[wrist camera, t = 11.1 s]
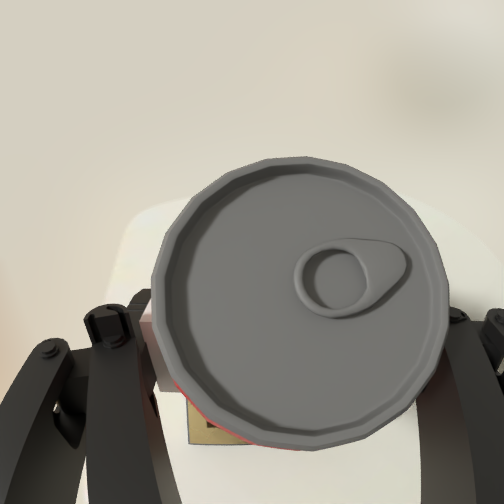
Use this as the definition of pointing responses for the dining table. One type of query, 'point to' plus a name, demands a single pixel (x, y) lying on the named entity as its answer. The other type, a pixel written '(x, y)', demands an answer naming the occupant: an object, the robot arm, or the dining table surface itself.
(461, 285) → the dining table surface
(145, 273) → the dining table surface
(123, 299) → the dining table surface
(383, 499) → the dining table surface
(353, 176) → the beer can
